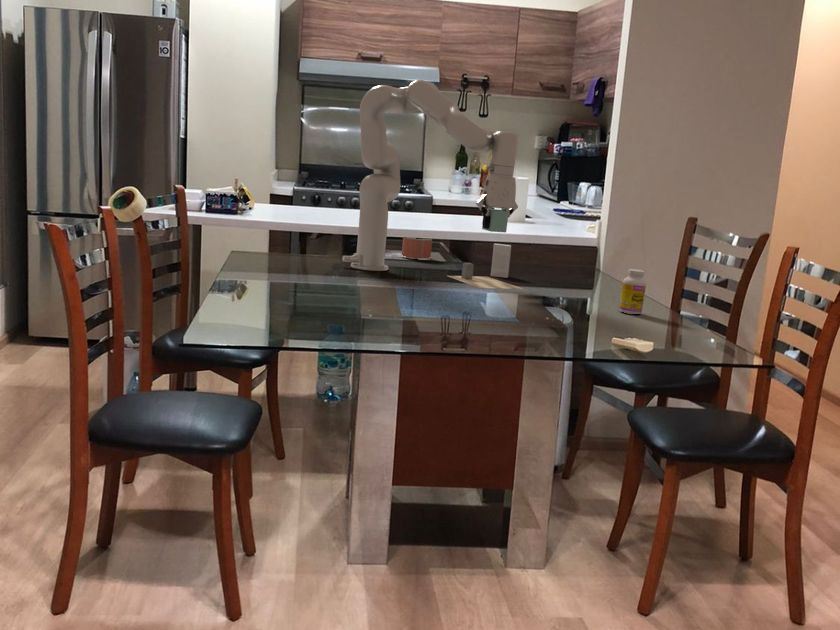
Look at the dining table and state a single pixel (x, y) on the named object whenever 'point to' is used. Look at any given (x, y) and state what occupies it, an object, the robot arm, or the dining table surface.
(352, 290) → the dining table surface
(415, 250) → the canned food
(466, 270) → the post
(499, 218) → the sage green cube
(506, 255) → the skincare box
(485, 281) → the board
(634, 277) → the supplement bottle
